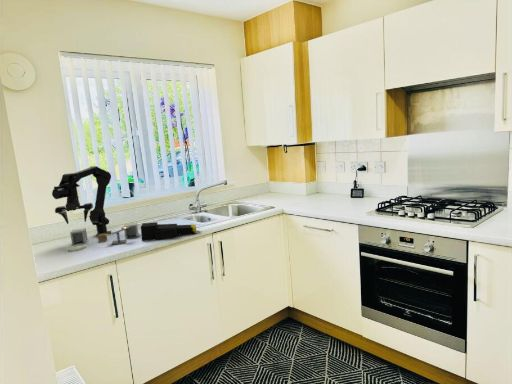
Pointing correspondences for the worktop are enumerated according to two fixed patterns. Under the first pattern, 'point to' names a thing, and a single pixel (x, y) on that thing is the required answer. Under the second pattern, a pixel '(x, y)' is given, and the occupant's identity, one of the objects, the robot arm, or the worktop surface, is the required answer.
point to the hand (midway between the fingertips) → (76, 222)
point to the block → (102, 237)
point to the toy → (165, 230)
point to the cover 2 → (131, 230)
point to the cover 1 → (78, 235)
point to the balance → (117, 236)
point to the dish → (76, 247)
